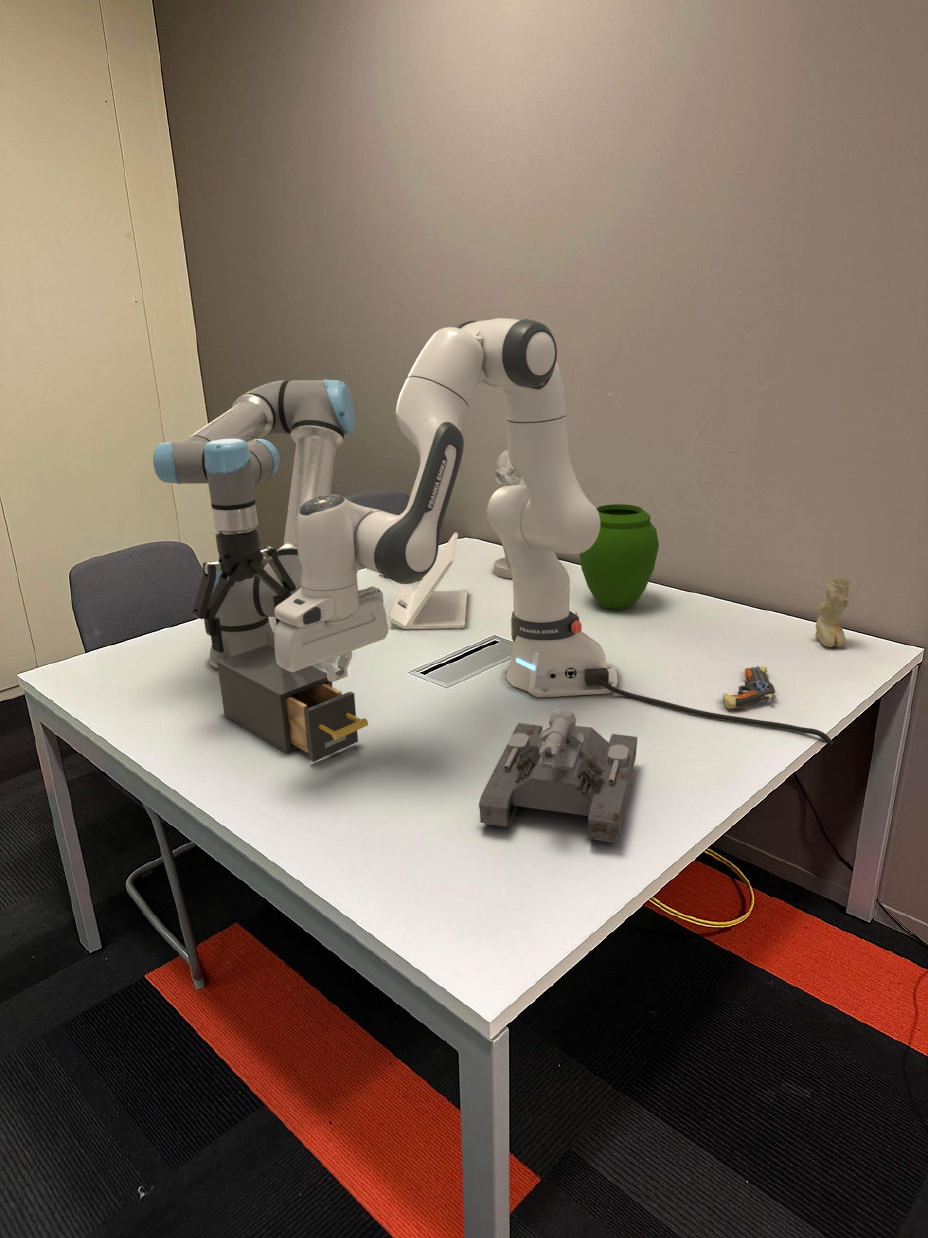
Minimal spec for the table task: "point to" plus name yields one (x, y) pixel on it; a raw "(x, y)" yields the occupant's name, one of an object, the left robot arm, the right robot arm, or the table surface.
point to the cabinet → (263, 693)
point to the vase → (620, 556)
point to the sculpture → (832, 613)
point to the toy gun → (751, 689)
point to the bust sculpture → (503, 477)
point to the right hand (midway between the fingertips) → (337, 678)
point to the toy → (562, 775)
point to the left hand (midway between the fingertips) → (251, 639)
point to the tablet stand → (431, 599)
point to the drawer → (322, 720)
